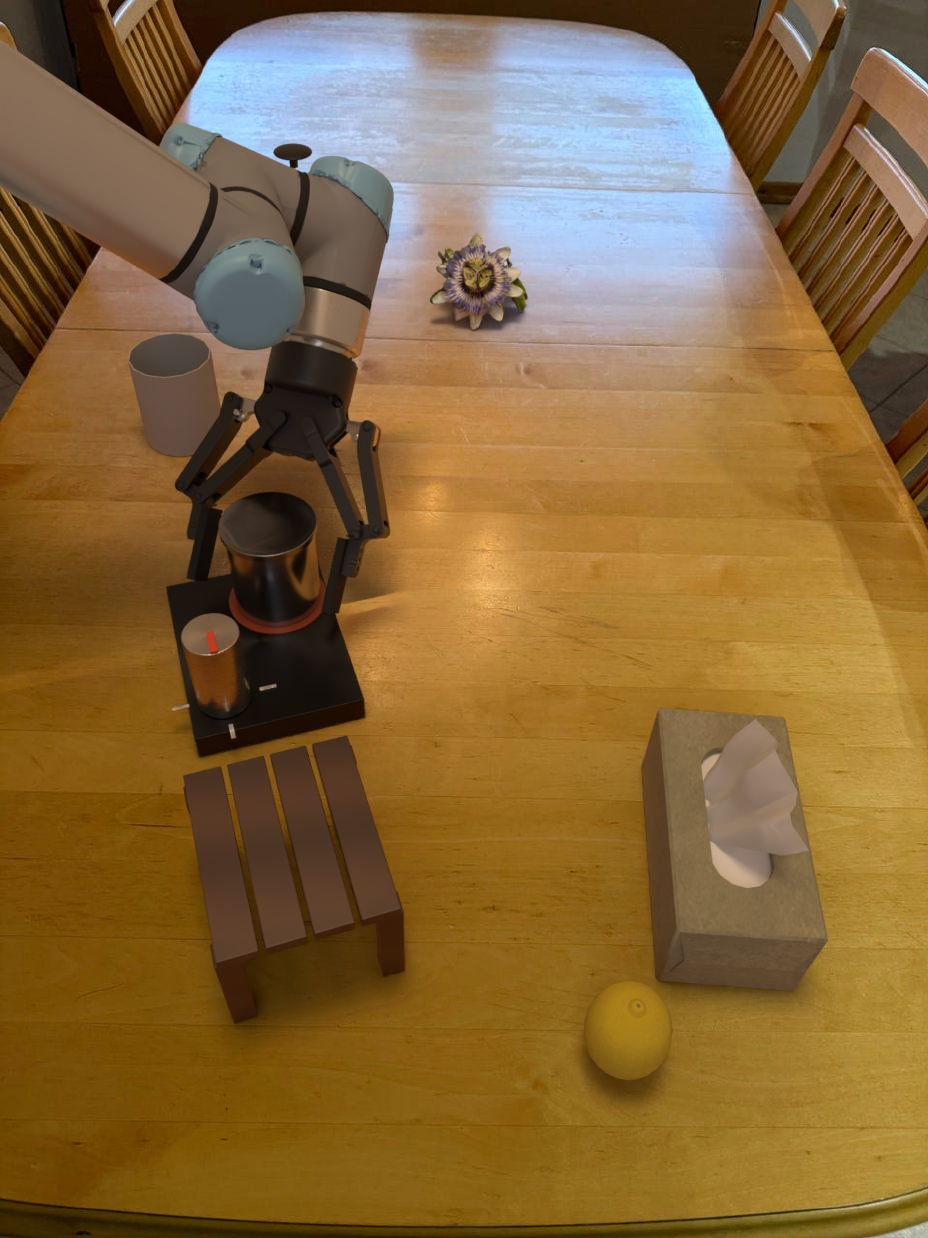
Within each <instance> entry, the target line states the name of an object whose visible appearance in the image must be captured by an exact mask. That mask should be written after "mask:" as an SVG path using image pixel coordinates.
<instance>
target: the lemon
mask: <svg viewBox="0 0 928 1238" xmlns="http://www.w3.org/2000/svg"><path fill="white" fill-rule="evenodd" d="M583 1038H584V1042H585V1047H586V1049H587V1052H588V1054H589V1056H590V1058H591V1059H592V1061H593V1062H594V1063H595V1065H596V1066H597V1067H598V1068H599V1069H600V1070H602V1071H603V1072H604V1073H605V1074H607V1075H609V1076H612V1077H614V1078H616V1079H620V1080H625V1081H630V1080H631V1081H633V1080H639V1079H642V1078H644V1077H645V1078H646V1077H647V1076H649V1075H651V1074H652V1073H654V1072H655V1071H656V1070H658V1068H659V1067H660V1066H661V1064H662V1063H663V1062H664V1061H665V1059H666V1058H667V1056H668V1053H669V1051H670V1048H671V1046H672V1040H673V1023H672V1016H671V1013H670V1011H669V1008H668V1006H667V1004H666V1002H665V1001H664V1000H663V998H662V997H661V995H660V994H659V993H658V992H656V991H655V990H654V989H653V988H652V987H649V986H648V985H646V984H645V983H641V982H638V981H635V980H634V981H633V980H622V981H618V982H614V983H612V984H610V985H608V986H606V987H604V988H603V989H602V990H601V991H600V992H599V993H598V994H597V995H596V996H595V997H594V998H593V1000H592V1001H591V1003H590V1005H589V1006H588V1008H587V1010H586V1014H585V1017H584V1021H583Z"/></svg>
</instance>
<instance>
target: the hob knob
mask: <svg viewBox="0 0 928 1238" xmlns="http://www.w3.org/2000/svg"><path fill="white" fill-rule="evenodd" d="M181 641H182V645H183V649H184V653H185V657H186V660H187V664H188V668H189V672H190V675H191V679H192V683H193V687H194V691H195V694H196V698H197V702H198V706H199V708H200V709H201V711H202V712H203V713H205V714H206V715H208V716H210V717H213V718H218V719H223V718H230V717H233V716H236V715H238V714H239V713H241V712H242V711H243V710H245V709H246V707H247V706H248V705H249V703H250V700H251V696H252V693H251V688H250V682H249V677H248V672H247V667H246V662H245V657H244V652H243V647H242V642H241V637H240V631H239V627H238V625H237V623H236V622H235V621H234V620H233V619H232V618H230V617H229V616H227V615H224V614H219V613H209V614H204V615H201V616H198V617H196V618H194V619H192V620H191V621H190V622H189V623H188V624H187V625H186V626H185V627H184V629H183V631H182V634H181Z"/></svg>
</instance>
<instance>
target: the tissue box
mask: <svg viewBox="0 0 928 1238" xmlns="http://www.w3.org/2000/svg"><path fill="white" fill-rule="evenodd" d="M787 726H788V725H787V721H786V718H785V717H783V716H779V715H778V716H776V715H775V716H774V715H765V714H764V715H763V714H752V713H751V714H750V713H748V714H747V713H735V712H722V711H708V710H694V709H683V708H682V709H680V708H666V707H659V708H658V710H657V712H656V715H655V719H654V722H653V726H652V729H651V732H650V736H649V739H648V742H647V746H646V750H645V753H644V755H643V756H644V757H643V760H642V763H641V778H642V779H641V780H642V794H643V795H642V797H643V807H644V808H643V809H644V823H645V825H644V826H645V836H646V837H645V838H646V853H647V866H648V867H647V869H648V881H649V883H648V884H649V896H650V911H651V913H650V914H651V926H652V928H651V929H652V943H653V955H654V971H655V978H656V980H658V981H661V982H663V981H664V982H676V983H687V984H698V985H699V984H701V985H710V986H711V985H712V986H725V987H736V988H737V987H739V988H751V989H764V990H777V991H791V992H793V991H794V990H795V989H796V988H797V986H798V984H800V981H802V979H803V977H804V976H805V975H806V974H807V972H808V970H809V968H810V967H811V966H812V964H813V963H814V962H815V960H816V959H817V957H818V956H819V954H820V953H821V951H822V950H823V949H824V947H825V946H826V944H827V943H828V941H829V937H828V932H827V927H826V922H825V917H824V911H823V906H822V901H821V896H820V892H819V886H818V880H817V875H816V871H815V866H814V865H815V864H814V861H813V855H812V850H811V844H810V839H809V835H808V828H807V824H806V818H805V813H804V809H803V803H802V799H801V793H800V788H799V783H798V778H797V773H796V767H795V762H794V758H793V751H792V748H791V741H790V737H789V731H788V727H787Z"/></svg>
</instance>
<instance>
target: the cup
mask: <svg viewBox="0 0 928 1238" xmlns="http://www.w3.org/2000/svg"><path fill="white" fill-rule="evenodd" d="M127 363H128V368H129V371H130V375H131V376H130V377H131V380H132V383H133V387H134V392H135V396H136V400H137V404H138V409H139V412H140V417H141V420H142V425H143V429H144V433H145V437H146V440H147V442H148V443H149V445H150V447H151V449H152V450H155V451H156V452H158V453H160V454H162V455H164V456H171V457H177V458H184V457H190V456H191V457H192V456H193V454H194V453H195V451H196V450H197V448H198V447H199V445H200V444H201V442H202V441H203V439H204V438H205V436H206V435H207V433H208V431H209V430H210V428H211V427H212V425H213V424H214V422H215V421H216V419H217V418H218V416H219V414H220V410H221V406H222V405H221V401H220V396H219V390H218V384H217V379H216V378H217V377H216V372H215V367H214V361H213V354H212V350H211V348H210V346H209V345H208V343H207V342H206V341H205V340H204V339H202V338H199V337H197V336H195V335H193V334H189V333H188V334H186V333H180V332H179V333H178V332H171V333H164V334H162V333H161V334H156V335H154V336H151V337H148V338H145V339H143V340H140V341H139V342H138V343H137V344H135V346H134V347H132V348H131V349H130V350H129V353H128V357H127Z"/></svg>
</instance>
